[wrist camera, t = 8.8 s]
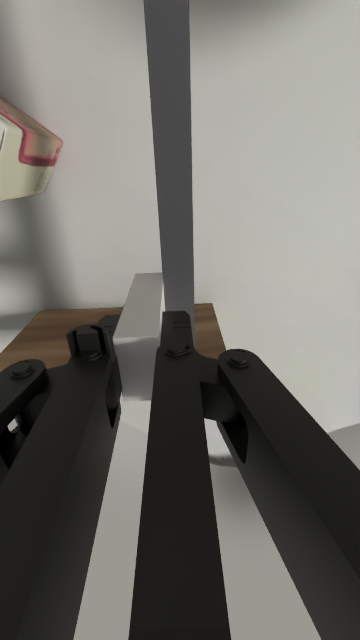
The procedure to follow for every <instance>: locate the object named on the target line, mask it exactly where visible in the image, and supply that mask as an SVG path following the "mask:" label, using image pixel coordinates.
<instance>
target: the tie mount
mask: <svg viewBox="0 0 360 640" xmlns="http://www.w3.org/2000/svg"><path fill="white" fill-rule="evenodd" d="M123 308H124V307H122V308H99V309H76V310H54V311H40V312H39V313H38V314H37V315H36V316H35V317H34V318H33V319H32V320H31V322H30V323H29V324H28V325H27V326H26V327H25V328H24V329H23V330H22V331H21V332H20V333H19V334H18V335H17V336H16V337H15V339H14V340H13V341H12V342H11V343H10V344H9V345H8V346H7V347H6V348H5V349H4V350H3V351H2V352H1V353H0V372H1V371H3V370H4V369H5V368H7V367H8V366H10V365H11V364H14V363H16V362H18V361H21V360H26V359H38V360H41V361H42V362H43V363H44V364H45V366H46V369H49V368H53V367H57V366H61V365H65V364H67V363H68V361H69V359H70V357H71V353H70V349H69V345H68V341H67V337H66V334H67V333H68V332H69V331H70V330H72V329H74V328H76V327H78V326H82V325H87V324H97V323H98V321H99V320H100V319H101V318H103V317H104V316H105V315H115V314H121V313H122V311H123ZM194 321H195V350H196V351H197V352H198V353H199V354H201V355H203V356H205V357H209V358H214V359H218V357H219V355H220V354H221V353H223V352H224V351H226V348H225V345H224V342H223V338H222V335H221V331H220V328H219V325H218V321H217V318H216V314H215V311H214V308H213V304H194Z"/></svg>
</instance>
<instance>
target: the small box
mask: <svg viewBox="0 0 360 640" xmlns="http://www.w3.org/2000/svg"><path fill="white" fill-rule="evenodd" d="M62 143H63V141H62V140H61V139H60V138H59V137H57V136H56V135H55V134H53V133H52V132H51V131H49V130H48V129H46V128H45V127H44V126H42V125H41V124H39V123H38V122H37V121H35V120H34V119H32V118H31V117H29V116H28V115H26V114H25V113H23V112H22V111H20V110H19V109H17V108H16V107H14V106H12V105H11V104H9V103H8V102H6V101H5V100H3V99H2V98H0V201H3V200H8V199H14V198H20V197H25V196H31V195H37V194H42V193H43V192H44V190H45V188H46V185H47V183H48V181H49V178H50V176H51V174H52V171H53V169H54V166H55V163H56V161H57V158H58V155H59V152H60V149H61V147H62Z"/></svg>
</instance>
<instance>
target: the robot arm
mask: <svg viewBox="0 0 360 640" xmlns="http://www.w3.org/2000/svg"><path fill="white" fill-rule="evenodd" d="M66 337H67V341H68V345H69V349H70V353H71V357H70V359H69V361H68V363H67V364H65V365H61V366H57V367H53V368H49V369H46V366H45V364H44V363H43V362H42V361H41V360H38V359H26V360H21V361H18V362H16V363H14V364H11V365H10V366H8V367H7V368H5V369H4V370H3V371H1V372H0V640H73V638H74V633H75V628H76V624H77V619H78V615H79V610H80V605H81V600H82V596H83V591H84V586H85V581H86V577H87V572H88V567H89V562H90V557H91V552H92V547H93V543H94V539H95V534H96V529H97V524H98V519H99V515H100V510H101V505H102V501H103V495H104V491H105V486H106V482H107V477H108V472H109V467H110V463H111V458H112V453H113V448H114V443H115V439H116V434H117V429H118V425H119V420H120V415H121V405H120V396H121V392H122V396H123V401H144V400H151V411H150V421H149V432H148V442H147V453H146V464H145V474H144V484H143V494H142V505H141V516H140V526H139V536H138V547H137V557H136V568H135V578H134V588H133V599H132V610H131V620H130V630H129V639H128V640H231V635H230V628H229V620H228V612H227V603H226V595H225V587H224V579H223V570H222V562H221V554H220V547H219V539H218V529H217V521H216V513H215V505H214V497H213V489H212V481H211V473H210V464H209V456H208V448H207V439H206V431H205V423H204V418H206V419H211V420H215V421H216V422H217V426H218V428H219V430H220V432H221V434H222V436H223V439H224V441H225V443H226V445H227V447H228V449H229V451H230V453H231V455H232V457H233V459H234V461H235V463H236V465H237V467H238V469H239V471H240V473H241V475H242V478H243V480H244V481H245V484H246V486H247V488H248V490H249V492H250V494H251V496H252V498H253V500H254V502H255V504H256V506H257V508H258V510H259V512H260V514H261V516H262V518H263V521H264V523H265V525H266V527H267V529H268V531H269V533H270V535H271V537H272V539H273V541H274V543H275V545H276V547H277V549H278V551H279V553H280V555H281V557H282V560H283V562H284V564H285V566H286V568H287V570H288V572H289V574H290V576H291V578H292V580H293V582H294V584H295V586H296V588H297V590H298V592H299V594H300V596H301V599H302V600H303V603H304V605H305V607H306V609H307V611H308V613H309V615H310V617H311V619H312V621H313V623H314V625H315V627H316V629H317V631H318V633H319V635H320V637H321V640H360V470H359V469H358V468H357V467H356V466H355V464H353V462H352V461H351V460H350V459H349V458H348V457H347V456H346V454H345V453H344V452H343V451H342V450H341V449H340V448H339V447H338V445H337V444H336V443H335V442H334V441H333V440H332V439H331V438H330V437H329V435H328V434H327V433H326V432H325V431H324V430H323V429H322V428H321V426H320V425H319V424H318V423H317V422H316V421H315V420H314V419H313V417H312V416H311V415H310V414H309V413H308V412H307V411H306V410H305V409H304V407H303V406H302V405H301V404H300V403H299V402H298V401H297V400H296V398H295V397H294V396H293V395H292V394H291V393H290V392H289V391H288V390H287V388H286V387H285V386H284V385H283V384H282V383H281V382H280V381H279V379H278V378H277V377H276V376H275V375H274V374H273V373H272V372H271V371H270V369H269V368H268V367H267V366H266V365H265V364H264V363H263V362H262V360H261V359H260V358H259V357H258V356H257V355H255V354H254V353H252V352H250V351H247V350H243V349H230V350H227V351H224V352H223V353H221V354H220V355H219V357H218V359H214V358H209V357H205V356H203V355H201V354H199V353H198V352H197V351H196V350H195V348H194V344H193V336H192V328H191V319H190V315H189V314H188V313H187V312H186V311H165V300H164V285H163V273H144V274H135V277H134V280H133V283H132V286H131V288H130V291H129V294H128V297H127V299H126V302H125V305H124V308H123V311H122V313H121V314H115V315H105V316H104V317H103V318H101V319H100V320H99V321H98V323H97V324H87V325H82V326H78V327H76V328H74V329H72V330H70V331H69V332H68V333H67V334H66ZM14 418H15V420H16V423H17V427H16V428H15V429H13V430H12V431H11V432H10V431H9V429H8V427H7V426H8V425H9V423H10V422H11V421H12V420H13V419H14Z"/></svg>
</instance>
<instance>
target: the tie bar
mask: <svg viewBox="0 0 360 640" xmlns="http://www.w3.org/2000/svg"><path fill="white" fill-rule="evenodd" d="M144 12H145V26H146V40H147V55H148V69H149V84H150V98H151V113H152V127H153V142H154V156H155V170H156V185H157V199H158V214H159V228H160V243H161V257H162V272H163V285H164V300H165V311H186V312H187V313H188V314H189V315H190V319H191V328H192V336H193V344H194V348H195V321H194V263H193V206H192V148H191V90H190V32H189V0H144Z"/></svg>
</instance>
